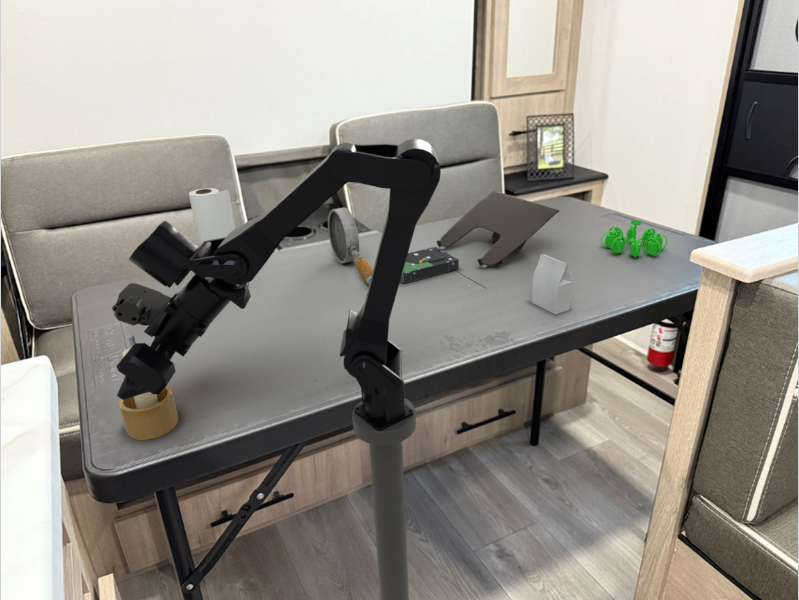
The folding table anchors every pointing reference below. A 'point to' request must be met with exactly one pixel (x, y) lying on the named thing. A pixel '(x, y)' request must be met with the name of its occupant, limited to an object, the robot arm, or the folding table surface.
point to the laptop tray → (500, 225)
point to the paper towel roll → (211, 213)
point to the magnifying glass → (347, 241)
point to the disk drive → (427, 264)
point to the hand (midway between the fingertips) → (133, 378)
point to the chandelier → (634, 240)
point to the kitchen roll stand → (146, 398)
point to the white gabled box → (552, 285)
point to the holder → (149, 416)
